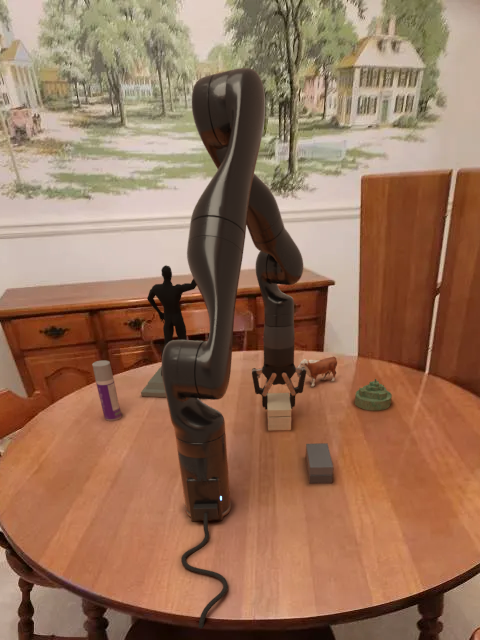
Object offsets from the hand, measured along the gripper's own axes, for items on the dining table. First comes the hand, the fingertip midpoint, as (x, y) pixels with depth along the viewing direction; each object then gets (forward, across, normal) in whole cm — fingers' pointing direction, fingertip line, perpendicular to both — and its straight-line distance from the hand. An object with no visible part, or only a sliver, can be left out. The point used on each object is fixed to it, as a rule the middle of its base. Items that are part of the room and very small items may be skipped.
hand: (278, 407), depth 129 cm
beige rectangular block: (0, 0, 0) cm, 0 cm away
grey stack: (+4, +8, -26) cm, 27 cm away
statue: (+4, -29, +27) cm, 40 cm away
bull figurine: (+4, +13, +26) cm, 29 cm away
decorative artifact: (+4, +27, +10) cm, 29 cm away
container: (+4, -46, +5) cm, 46 cm away
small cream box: (+4, 0, 0) cm, 4 cm away
